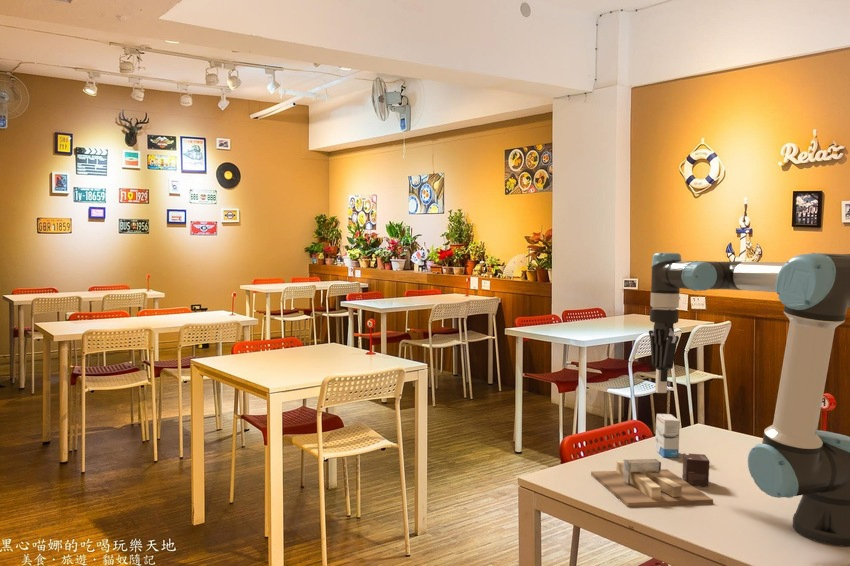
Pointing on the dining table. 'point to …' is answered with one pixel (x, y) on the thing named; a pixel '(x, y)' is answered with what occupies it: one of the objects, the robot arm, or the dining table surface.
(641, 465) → the lock collar
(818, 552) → the dining table surface
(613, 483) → the walnut board
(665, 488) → the bar
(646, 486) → the fixed tong arm
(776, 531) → the dining table surface
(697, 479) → the box
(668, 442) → the ink box
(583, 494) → the dining table surface
